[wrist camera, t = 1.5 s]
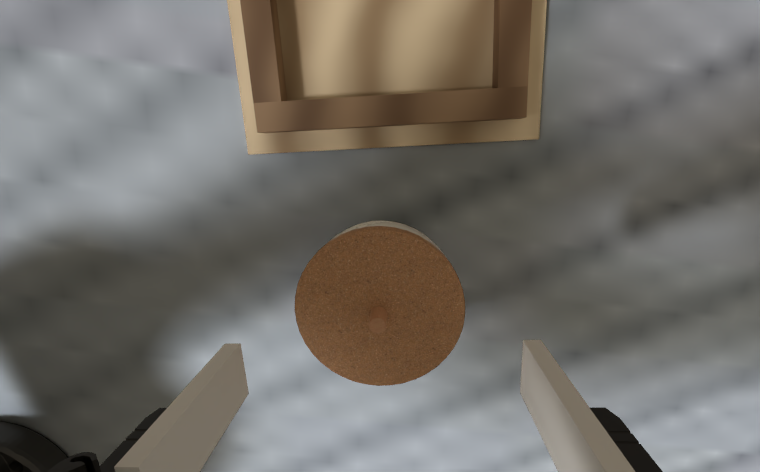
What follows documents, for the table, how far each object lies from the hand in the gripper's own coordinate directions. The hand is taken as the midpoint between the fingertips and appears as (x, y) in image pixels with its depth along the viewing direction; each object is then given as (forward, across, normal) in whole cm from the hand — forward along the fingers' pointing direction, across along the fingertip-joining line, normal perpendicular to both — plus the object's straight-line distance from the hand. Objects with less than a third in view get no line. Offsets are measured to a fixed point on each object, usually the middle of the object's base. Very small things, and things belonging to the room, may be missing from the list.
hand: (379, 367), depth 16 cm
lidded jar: (+14, 0, 0) cm, 14 cm away
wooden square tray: (+13, 0, +21) cm, 25 cm away
